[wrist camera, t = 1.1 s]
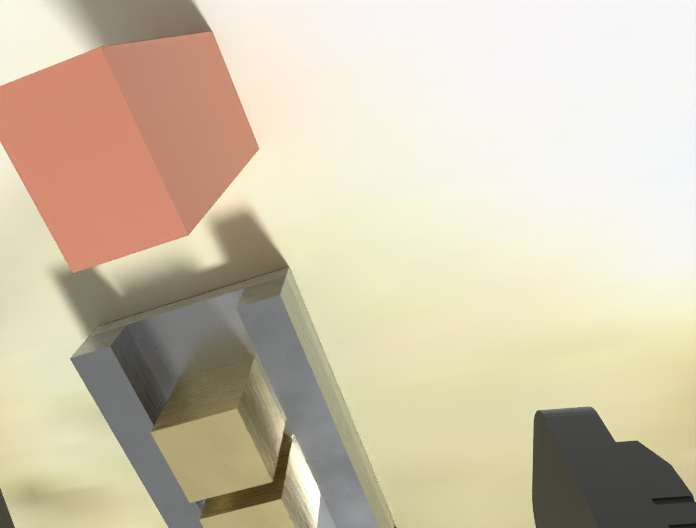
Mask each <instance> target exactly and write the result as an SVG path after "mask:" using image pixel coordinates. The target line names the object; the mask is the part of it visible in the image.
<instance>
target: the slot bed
mask: <svg viewBox="0 0 696 528" xmlns="http://www.w3.org/2000/svg"><path fill="white" fill-rule="evenodd" d="M70 359H71V361H72V363H73V365H74V366H75V368H76V370H77V371H78V373H79V375H80V377H81V378H82V380H83V382H84V383H85V385H86V387H87V389H88V390H89V392H90V394H91V395H92V397H93V399H94V401H95V402H96V404H97V406H98V407H99V409H100V411H101V413H102V414H103V416H104V418H105V419H106V421H107V423H108V425H109V426H110V428H111V430H112V431H113V433H114V435H115V437H116V438H117V440H118V442H119V443H120V445H121V447H122V449H123V450H124V452H125V454H126V455H127V457H128V459H129V461H130V462H131V464H132V466H133V467H134V469H135V471H136V472H137V474H138V476H139V478H140V479H141V481H142V483H143V484H144V486H145V488H146V490H147V491H148V493H149V495H150V496H151V498H152V500H153V502H154V503H155V505H156V507H157V508H158V510H159V512H160V514H161V515H162V517H163V519H164V520H165V522H166V524H167V526H168V527H169V528H203V526H202V524H201V522H200V521H199V518H200V515H201V512H202V509H203V506H204V503H205V500H206V499H204V500H200V501H196V502H192V503H189V501H188V499H187V497H186V495H185V494H184V492H183V490H182V488H181V486H180V485H179V483H178V481H177V479H176V477H175V476H174V474H173V472H172V470H171V468H170V467H169V465H168V463H167V461H166V460H165V458H164V456H163V454H162V452H161V451H160V449H159V447H158V445H157V443H156V442H155V440H154V438H153V436H152V434H151V433H150V432H151V430H152V429H153V427H154V425H155V423H156V421H157V419H158V417H159V415H160V413H161V411H162V410H163V408H164V406H165V404H166V402H167V400H168V398H169V396H170V394H171V393H172V391H173V389H174V387H175V385H176V383H177V381H178V380H181V379H184V378H188V377H191V376H195V375H198V374H202V373H205V372H209V371H212V370H216V369H219V368H222V367H226V366H229V365H233V364H236V363H240V362H243V361H247V360H250V359H255V361H256V363H257V366H258V368H259V370H260V372H261V374H262V376H263V379H264V381H265V383H266V385H267V387H268V389H269V392H270V394H271V396H272V398H273V400H274V403H275V405H276V407H277V409H278V411H279V413H280V416H281V418H282V420H283V422H284V424H285V427H284V432H283V436H282V441H281V444H283V443H286V442H290V441H292V442H293V444H294V446H295V448H296V450H297V453H298V455H299V457H300V459H301V461H302V463H303V466H304V468H305V470H306V472H307V474H308V477H309V479H310V481H311V483H312V485H313V487H314V490H315V492H316V494H317V496H318V498H319V500H320V502H319V511H318V520H317V528H394V521H393V518H392V516H391V514H390V511H389V509H388V506H387V504H386V501H385V499H384V496H383V494H382V492H381V489H380V487H379V484H378V482H377V479H376V477H375V475H374V472H373V470H372V467H371V465H370V462H369V460H368V458H367V455H366V453H365V450H364V448H363V445H362V443H361V441H360V438H359V436H358V433H357V431H356V428H355V426H354V424H353V421H352V419H351V416H350V414H349V411H348V409H347V406H346V404H345V402H344V399H343V397H342V394H341V392H340V389H339V387H338V385H337V382H336V380H335V377H334V375H333V372H332V370H331V368H330V365H329V363H328V360H327V358H326V355H325V353H324V351H323V348H322V346H321V343H320V341H319V338H318V336H317V333H316V331H315V329H314V326H313V324H312V321H311V319H310V316H309V314H308V312H307V309H306V307H305V304H304V302H303V299H302V297H301V295H300V292H299V290H298V287H297V285H296V282H295V280H294V278H293V275H292V273H291V270H290V268H289V267H287V268H284V269H281V270H278V271H274V272H271V273H268V274H265V275H261V276H258V277H255V278H252V279H249V280H245V281H242V282H239V283H236V284H233V285H229V286H226V287H223V288H220V289H216V290H213V291H210V292H207V293H204V294H200V295H197V296H194V297H191V298H188V299H184V300H181V301H178V302H175V303H171V304H168V305H165V306H162V307H159V308H155V309H152V310H149V311H146V312H142V313H139V314H136V315H133V316H130V317H126V318H123V319H120V320H117V321H114V322H110V323H107V324H104V325H101V326H98V327H97V328H96V329H95V330H94V331H93V333H92V334H91V335H90V336H89V337H88V338H87V339H86V341H85V342H84V343H83V344H82V345H81V346H80V347H79V349H78V350H77V351H76V352H75V353H74V354H73V356H72V357H71V358H70Z"/></svg>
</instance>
